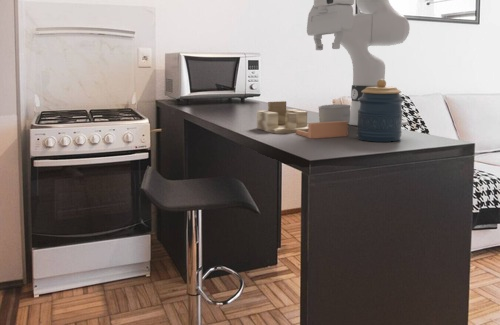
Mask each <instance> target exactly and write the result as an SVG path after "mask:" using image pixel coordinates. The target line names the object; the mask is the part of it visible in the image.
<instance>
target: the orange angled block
mask: <svg viewBox="0 0 500 325" xmlns="http://www.w3.org/2000/svg"><path fill="white" fill-rule="evenodd" d="M348 125H349V124H348V121H335V122H320V121H319V122H308V123H307V127H308V132H305V131H301V130H296V132H295V134H296V135H299V136H301V137H306V138H308V139H320V138H323V139H324V138H336V137H339V138H340V137H348V131H349V130H348V128H349V126H348Z"/></svg>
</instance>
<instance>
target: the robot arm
mask: <svg viewBox="0 0 500 325" xmlns="http://www.w3.org/2000/svg"><path fill="white" fill-rule="evenodd" d="M354 4H355V0H313V5H312V7H311V9H310V10H309V12H308V14H307V23H306V24H307V25H306V33H307V36H312V37H313V41H314V44H315V50H316V51H323V49H324V44H323V42H322V39H323V36H325V35H334V39H333V42H332V43H331V49H332V50H340V48H341V46H342V47H343V48H344V49H345V50H346V52H347V53H348V55H349V57H350V60H351V63H352V85H351V91H350V97H351V104H350V106H351V107H350V121H349V124H348V125H350V126H356V127H357V126H358V109H359V106H360V102H359V100H358V99H359V98H360V97H362V95H363V93H362V92H361V91H362V90H364V89H365V88H366V87H377V82H378V80H380V79H383V80H385V77H386V64H385V62H384V60H383V59H382V58H380V57H379V56H377V55H375V54H372V53H371V52H369V50H368V48H369V47H372V46H373V47H375V46H376V47H378V46H380V47H384V46H386V47H387V46H395V45H399V44H400V45H401V44H403V43H404V42H405V41H406V40H407V38H408V37H409V35H410V23H409V20H408V19H407V17H406V16H405V15H403V14H401V13H399V12H398V11H397V10H395V8H394V7H393V6H392V5H391V3H390V0H356V7H357V8H358V10H359V11H360V12H361V13H354V6H353V5H354ZM385 81H386V80H385ZM403 125H404V126H405V125H409V121H408V120H404V119H402V124H401V126H403Z"/></svg>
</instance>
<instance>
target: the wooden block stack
mask: <svg viewBox="0 0 500 325" xmlns="http://www.w3.org/2000/svg"><path fill="white" fill-rule="evenodd" d="M256 129H259V130H260V131H261V130H262V131H265V132H269V133H273V134H292V133H293V134H294V133H295V134H296V130H301V131H305V132H308V111H305V110H300V109H296V108H295V109H294V108H293V109H287V101H286V100H282V101H267V110H257V111H256Z"/></svg>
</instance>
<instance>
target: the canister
mask: <svg viewBox="0 0 500 325" xmlns="http://www.w3.org/2000/svg"><path fill="white" fill-rule="evenodd" d="M361 92H362V93H363V95H362V97H360V98H359V99H358V100H359V102H360V106H359V109H358V126H357V125H356V127H357V128H356V138H357V139H358V140H362V141H366V142H375V143H376V142H377V143H391V141H393V142H398V141H400V140H401V136H402V125H401V124H402V120H403V112H404V111H403V110H402V103H403V102H404V99H403V98H402V97H401V96H400V94H401V93H402V91H401V90H400V89H398V88H397V87H396V86H387V82H386V80H383V79H380V80H378V82H377V87H366V88H365V89H364V90H362V91H361Z"/></svg>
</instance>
